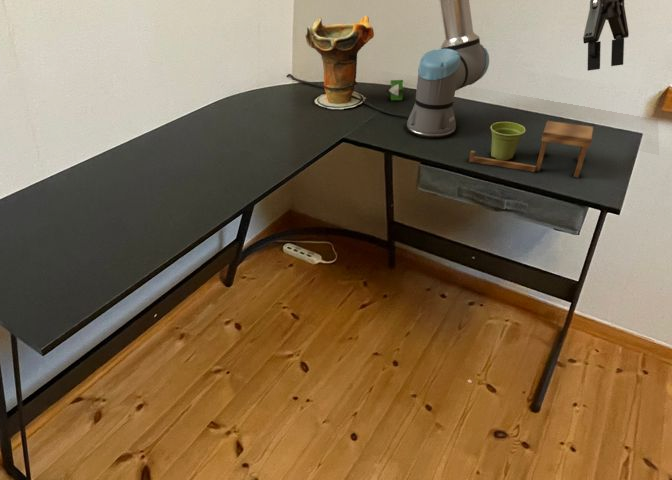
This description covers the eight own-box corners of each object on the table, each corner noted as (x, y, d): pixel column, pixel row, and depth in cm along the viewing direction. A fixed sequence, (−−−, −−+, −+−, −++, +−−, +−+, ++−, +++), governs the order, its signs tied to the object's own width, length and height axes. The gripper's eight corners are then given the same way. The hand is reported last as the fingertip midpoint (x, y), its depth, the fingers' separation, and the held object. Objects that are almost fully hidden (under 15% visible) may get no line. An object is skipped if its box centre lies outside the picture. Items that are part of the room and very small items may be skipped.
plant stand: (468, 161, 174) (475, 124, 167) (477, 144, 183) (484, 108, 176) (579, 179, 163) (591, 140, 156) (583, 160, 172) (594, 122, 165)
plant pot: (520, 164, 171) (527, 135, 166) (486, 162, 173) (492, 133, 168) (516, 150, 178) (523, 122, 173) (483, 148, 180) (489, 120, 175)
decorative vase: (308, 89, 225) (308, 9, 208) (370, 91, 222) (375, 9, 205) (301, 110, 209) (301, 25, 192) (368, 112, 205) (374, 25, 188)
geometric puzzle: (384, 88, 218) (388, 74, 210) (403, 87, 217) (407, 74, 210) (386, 105, 216) (389, 92, 208) (405, 105, 216) (409, 92, 208)
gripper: (601, -27, 139) (599, 69, 145) (645, -27, 153) (641, 61, 159) (568, -20, 144) (567, 73, 151) (614, -20, 159) (611, 65, 165)
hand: (605, 67), depth 155 cm, fingers open, 13 cm apart
